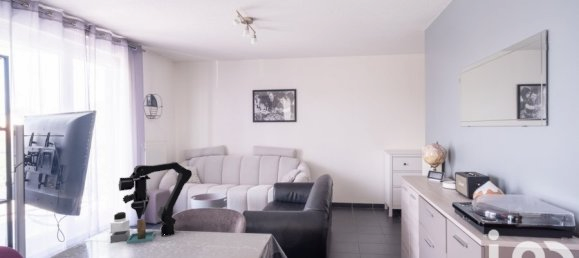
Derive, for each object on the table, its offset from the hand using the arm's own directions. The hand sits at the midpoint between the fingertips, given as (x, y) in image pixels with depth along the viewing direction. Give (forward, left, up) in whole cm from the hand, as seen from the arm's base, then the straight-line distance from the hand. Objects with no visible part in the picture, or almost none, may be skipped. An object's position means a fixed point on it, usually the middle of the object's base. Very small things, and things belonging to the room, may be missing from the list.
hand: (141, 216), depth 157 cm
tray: (0, 0, -13) cm, 13 cm away
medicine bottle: (+15, -19, -13) cm, 27 cm away
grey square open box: (+11, -3, -13) cm, 17 cm away
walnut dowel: (0, 0, -12) cm, 12 cm away
